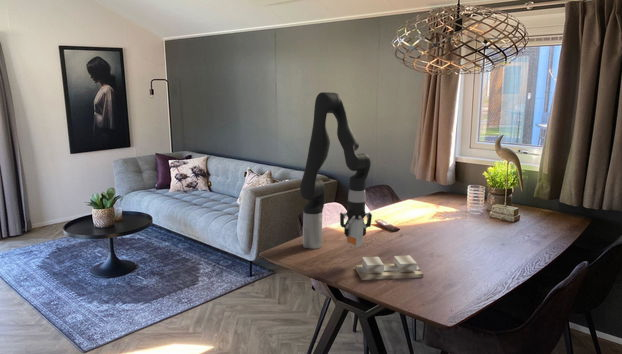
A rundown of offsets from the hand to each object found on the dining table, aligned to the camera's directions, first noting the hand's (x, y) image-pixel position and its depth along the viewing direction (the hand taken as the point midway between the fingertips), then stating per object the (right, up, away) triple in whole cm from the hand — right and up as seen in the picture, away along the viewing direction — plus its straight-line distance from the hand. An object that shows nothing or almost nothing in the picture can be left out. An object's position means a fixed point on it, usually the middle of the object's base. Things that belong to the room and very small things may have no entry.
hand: (354, 235), depth 206 cm
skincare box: (0, -4, +1) cm, 4 cm away
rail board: (+14, -15, -8) cm, 21 cm away
